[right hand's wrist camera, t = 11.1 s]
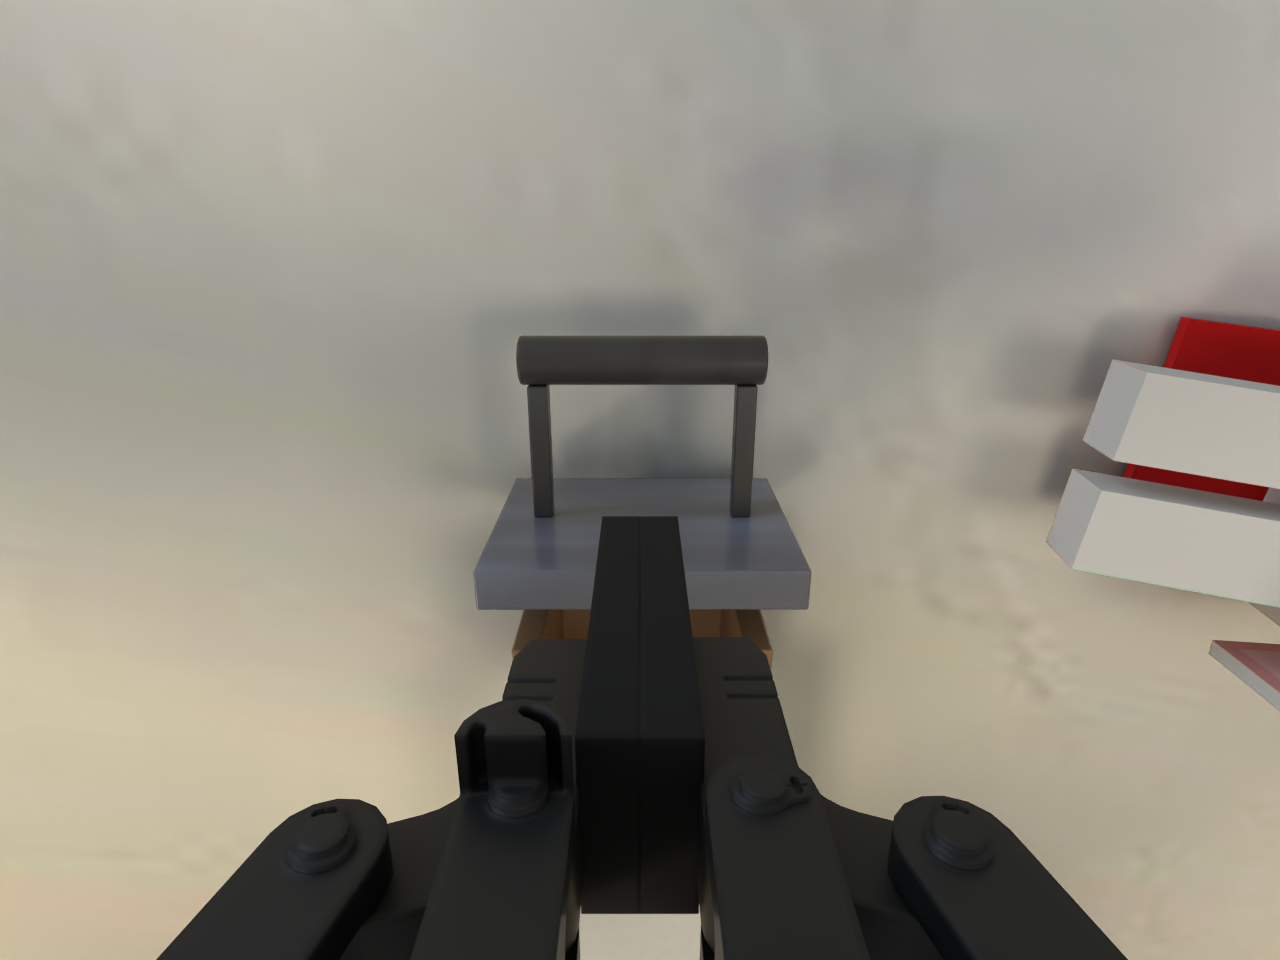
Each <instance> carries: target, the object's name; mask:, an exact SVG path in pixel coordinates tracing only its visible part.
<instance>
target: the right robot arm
mask: <svg viewBox="0 0 1280 960" xmlns="http://www.w3.org/2000/svg"><path fill="white" fill-rule="evenodd" d="M454 737H455V746H456V756H457V765H458V775H459V784H460V797H459V798H458V799H456V800H455V801H453V802H451V803H450V804H448V805H446V806H444V807H442V808H440V809H438V810H435V811H432V812H429V813H426V814H424V815H420V816H416V817H412V818H408V819H404V820H401V821H397V822H393V823H389V824H387V821H386V819H385V817H384V816H383V815H382V813H381V812H380V811H379V810H378V808H377V807H376V806H373V805H371V804H369V803H366V802H364V801H361V800H357V799H335V800H331V801H326V802H322V803H318V804H314V805H312V806H310V807H308V808H306V809H304V810H302V811H300V812H298V813H296V814H294V815H292V816H290V817H289V818H287V819H286V820H285V821H284V822H283V823H282V824H280V825H279V826H278V827H277V828H276V829H274V830H273V831H272V832H271V833H270V834H269V835H268V836H267V837H266V838H265V839H264V841H263V842H262V843H261V844H260V845H259V846H258V847H257V848H256V849H255V851H254V852H253V853H252V854H251V855H250V856H249V857H248V858H247V859H246V861H245V862H244V863H243V864H242V865H241V866H240V867H239V868H238V870H237V871H236V872H235V873H234V874H233V875H232V876H231V877H230V878H229V880H228V881H227V882H226V883H225V884H224V885H223V886H222V887H221V888H220V890H219V891H218V892H217V893H216V894H215V895H214V896H213V897H212V898H211V900H210V901H209V902H208V903H207V904H206V905H205V906H204V907H203V908H202V910H201V911H200V912H199V913H198V914H197V915H196V916H195V917H194V918H193V920H192V921H191V922H190V923H189V924H188V925H187V926H186V927H185V928H184V930H183V931H182V932H181V933H180V934H179V935H178V936H177V937H176V938H175V940H174V941H173V942H172V943H171V944H170V945H169V946H168V947H167V948H166V950H165V951H164V952H163V953H162V954H161V955H160V956H159V957H158V958H157V960H580V935H579V922H580V910H581V914H699V906H700V918H701V935H700V960H1128V959H1127V958H1126V957H1125V956H1124V955H1123V954H1122V953H1121V952H1120V950H1119V949H1118V948H1117V947H1116V946H1115V945H1114V944H1113V943H1112V942H1111V941H1110V939H1109V938H1108V937H1107V936H1106V935H1105V934H1104V933H1103V932H1102V931H1101V929H1100V928H1099V927H1098V926H1097V925H1096V924H1095V923H1094V922H1093V921H1092V920H1091V918H1090V917H1089V916H1088V915H1087V914H1086V913H1085V912H1084V911H1083V910H1082V908H1081V907H1080V906H1079V905H1078V904H1077V903H1076V902H1075V901H1074V900H1073V899H1072V897H1071V896H1070V895H1069V894H1068V893H1067V892H1066V891H1065V890H1064V889H1063V887H1062V886H1061V885H1060V884H1059V883H1058V882H1057V881H1056V880H1055V879H1054V878H1053V876H1052V875H1051V874H1050V873H1049V872H1048V871H1047V870H1046V869H1045V868H1044V866H1043V865H1042V864H1041V863H1040V862H1039V861H1038V860H1037V859H1036V858H1035V857H1034V855H1033V854H1032V853H1031V852H1030V851H1029V850H1028V849H1027V848H1026V847H1025V845H1024V844H1023V843H1022V842H1021V841H1020V840H1019V839H1018V838H1017V837H1016V836H1015V834H1014V833H1013V832H1012V831H1011V830H1010V829H1009V828H1008V827H1006V826H1005V825H1004V824H1003V823H1002V822H1000V821H999V820H998V819H997V818H996V817H995V816H993V815H992V814H991V813H989V812H987V811H985V810H983V809H981V808H979V807H977V806H975V805H973V804H971V803H969V802H967V801H963V800H958V799H954V798H950V797H946V796H923V797H919V798H917V799H914V800H912V801H909V802H907V803H904V804H903V806H902V807H901V808H900V810H899V811H898V812H897V814H896V815H895V816H894V821H891V820H887V819H883V818H879V817H875V816H871V815H867V814H863V813H859V812H856V811H853V810H850V809H848V808H845V807H842V806H840V805H838V804H836V803H834V802H832V801H830V800H828V799H827V798H825V797H824V796H822V795H821V794H820V793H819V791H818V789H817V788H816V786H815V784H814V782H813V781H812V779H811V777H810V776H808V775H807V774H806V773H805V772H804V771H802V770H801V769H800V768H799V767H798V764H797V761H796V757H795V754H794V750H793V747H792V743H791V740H790V736H789V733H788V729H787V726H786V722H785V719H784V715H783V712H782V708H781V705H780V701H779V698H778V697H777V691H776V687H775V684H774V681H773V679H772V673H771V670H770V666H769V663H768V659H767V655H766V654H765V653H764V652H763V651H762V650H761V649H760V648H759V647H758V646H757V645H756V644H755V643H754V642H753V641H752V640H751V639H750V638H749V637H693V636H692V628H691V620H690V612H689V604H688V595H687V587H686V579H685V571H684V563H683V555H682V547H681V539H680V531H679V523H678V516H602V523H601V531H600V539H599V547H598V555H597V563H596V571H595V579H594V587H593V595H592V604H591V612H590V620H589V628H588V636H587V640H531V641H530V642H529V643H528V644H527V645H526V646H525V647H524V648H523V649H522V650H521V651H520V652H519V653H518V654H517V655H516V656H515V657H514V658H513V662H512V665H511V669H510V672H509V676H508V683H506V687H505V690H504V694H503V701H501V702H498V703H495V704H492V705H490V706H487V707H484V708H482V709H479V710H478V711H477V712H475V713H474V714H473V715H471V716H470V717H468V718H467V719H466V720H464V721H463V723H462V725H461V726H460V728H459V729H458V731H457V732H456V734H455V735H454Z"/></svg>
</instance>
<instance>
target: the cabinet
mask: <svg viewBox="0 0 1280 960" xmlns="http://www.w3.org/2000/svg"><path fill="white" fill-rule="evenodd" d="M579 935H580V960H700V935H701V918H700V906H699V914H581V910H580V922H579Z"/></svg>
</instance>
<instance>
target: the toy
mask: <svg viewBox="0 0 1280 960" xmlns="http://www.w3.org/2000/svg"><path fill="white" fill-rule="evenodd" d="M1083 441H1084V442H1086V443H1087V444H1089V445H1090V446H1092V447H1093V448H1095V449H1096V450H1098V451H1099V452H1101V453H1102V454H1104V455H1106V456H1107V457H1109V458H1110V459H1112V460H1113V461H1119V462H1125V463H1128V465H1127V467H1126V470H1125V473H1124V476H1123V477H1119V476H1114V475H1108V474H1102V473H1096V472H1090V471H1085V470H1079V469H1073V468H1072V471H1071V474H1070V477H1069V479H1068V482H1067V485H1066V488H1065V490H1064V493H1063V496H1062V498H1061V501H1060V504H1059V507H1058V509H1057V512H1056V515H1055V518H1054V520H1053V523H1052V526H1051V528H1050V531H1049V534H1048V537H1047V539H1046V543H1047V544H1048V545H1049V546H1050V547H1051V548H1052V549H1053V550H1054V551H1055V552H1056V553H1057V554H1058V556H1059V557H1060V558H1061V559H1062V560H1063V561H1064V562H1065V563H1066V564H1067V565H1068V566H1069V567H1070V568H1071V569H1072V570H1078V571H1083V572H1089V573H1094V574H1099V575H1105V576H1110V577H1116V578H1121V579H1127V580H1132V581H1138V582H1143V583H1148V584H1154V585H1159V586H1165V587H1170V588H1176V589H1181V590H1187V591H1192V592H1197V593H1203V594H1208V595H1214V596H1219V597H1225V598H1230V599H1236V600H1241V601H1246V602H1249V603H1250V604H1251V605H1253V606H1254V607H1255V608H1256V609H1258V610H1259V611H1260V612H1262V613H1263V614H1264V615H1266V616H1267V617H1268V618H1270V619H1271V620H1272V621H1274V622H1275V623H1276V624H1278V625H1279V626H1280V331H1279V330H1272V329H1264V328H1257V327H1250V326H1242V325H1235V324H1228V323H1220V322H1213V321H1206V320H1198V319H1191V318H1184V317H1181V320H1180V323H1179V325H1178V328H1177V331H1176V334H1175V336H1174V339H1173V342H1172V345H1171V347H1170V350H1169V353H1168V355H1167V358H1166V361H1165V364H1164V366H1163V367H1158V366H1152V365H1145V364H1139V363H1133V362H1127V361H1120V360H1114V359H1113V360H1112V362H1111V365H1110V368H1109V370H1108V373H1107V376H1106V379H1105V381H1104V384H1103V387H1102V389H1101V392H1100V395H1099V398H1098V400H1097V403H1096V406H1095V409H1094V411H1093V414H1092V417H1091V419H1090V422H1089V425H1088V428H1087V430H1086V433H1085V436H1084V439H1083ZM1209 654H1210V655H1211V656H1212V657H1213V658H1215V659H1216V660H1217V661H1218V662H1219V663H1221V664H1222V665H1223V666H1224V667H1226V668H1227V669H1228V670H1229V671H1231V672H1232V673H1233V674H1234V675H1236V676H1237V677H1238V678H1239V679H1240V680H1242V681H1243V682H1244V683H1245V684H1247V685H1248V686H1249V687H1250V688H1252V689H1253V690H1254V691H1255V692H1257V693H1258V694H1259V695H1260V696H1261V697H1263V698H1264V699H1265V700H1266V701H1268V702H1269V703H1270V704H1271V705H1273V706H1274V707H1275V708H1276V709H1278V710H1279V711H1280V644H1265V643H1250V642H1235V641H1219V640H1212V644H1211V647H1210V650H1209Z"/></svg>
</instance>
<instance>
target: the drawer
mask: <svg viewBox="0 0 1280 960" xmlns="http://www.w3.org/2000/svg"><path fill="white" fill-rule="evenodd" d="M516 361H517V373H518V378H519V381H520V383H521V384H523V385H528V387H527V396H528V415H529V434H530V452H531V471H532V479H516V481H515V483H514V485H513V488H512V490H511V492H510V494H509V496H508V498H507V501H506V503H505V505H504V507H503V509H502V511H501V514H500V516H499V518H498V520H497V522H496V524H495V527H494V529H493V531H492V533H491V535H490V537H489V539H488V542H487V544H486V546H485V548H484V550H483V552H482V555H481V557H480V559H479V561H478V563H477V565H476V568H475V570H474V583H475V595H476V606H477V609H479V610H518V609H524V611H523V614H522V618H521V621H520V625H519V628H518V631H517V635H516V638H515V642H514V645H513V649H512V660H513V658H514V657H515V656H516V655H517V654H518V653H519V652H520V651H521V650H522V649H523V648H524V647H525V646H526V645H527V644H528V643H529V642H530V641H531V640H587V636H588V628H589V620H590V612H591V604H592V595H593V587H594V579H595V571H596V563H597V555H598V547H599V539H600V531H601V523H602V516H678V523H679V531H680V539H681V547H682V555H683V563H684V571H685V579H686V587H687V595H688V604H689V612H690V620H691V628H692V636H693V637H749V638H750V639H751V640H752V641H753V642H754V643H755V644H756V645H757V646H758V647H759V648H760V649H761V650H762V651H763V652H764V653H765V654H766V655H767V659H768V663H769V666H770V670H771V668H772V654H773V650H772V647H771V644H770V641H769V637H768V634H767V631H766V627H765V624H764V621H763V617H762V614H761V611H760V609H808V605H809V594H810V582H811V570H810V568H809V566H808V564H807V561H806V559H805V557H804V555H803V553H802V551H801V549H800V547H799V545H798V543H797V540H796V538H795V536H794V534H793V532H792V530H791V528H790V526H789V524H788V522H787V520H786V517H785V515H784V513H783V511H782V509H781V507H780V505H779V503H778V501H777V499H776V497H775V494H774V492H773V490H772V488H771V486H770V484H769V482H768V480H767V479H752V477H753V459H754V441H755V423H756V405H757V386H756V385H762V384H764V382H765V380H766V376H767V369H768V346H767V341H766V338H765V337H764V336H521V337H519V339H518V343H517V353H516ZM549 385H735V397H734V420H733V442H732V465H731V479H553V463H552V440H551V416H550V393H549Z"/></svg>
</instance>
